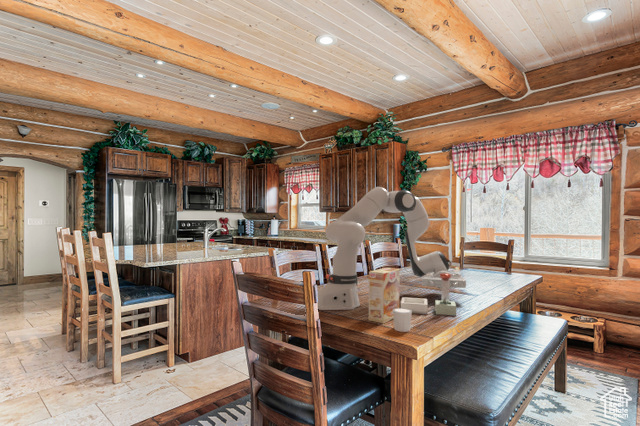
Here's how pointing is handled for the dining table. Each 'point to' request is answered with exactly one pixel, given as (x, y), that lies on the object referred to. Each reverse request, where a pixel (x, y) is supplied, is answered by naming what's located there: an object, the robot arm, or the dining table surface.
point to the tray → (415, 305)
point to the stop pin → (445, 287)
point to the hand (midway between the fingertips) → (444, 285)
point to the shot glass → (402, 319)
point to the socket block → (445, 308)
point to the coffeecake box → (383, 294)
